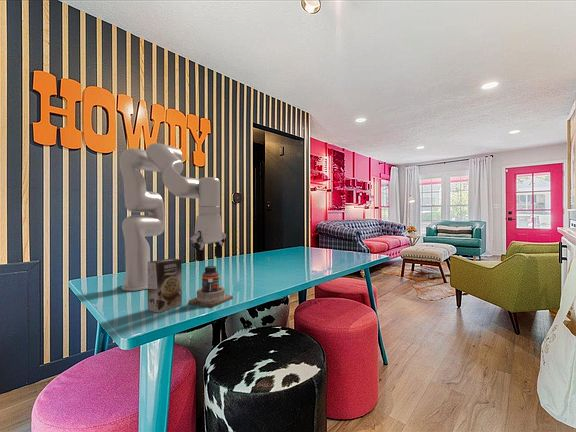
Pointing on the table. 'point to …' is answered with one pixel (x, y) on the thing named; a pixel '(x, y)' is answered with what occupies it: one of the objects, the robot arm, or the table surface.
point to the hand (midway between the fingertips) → (209, 258)
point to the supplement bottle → (210, 280)
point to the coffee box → (164, 284)
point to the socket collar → (210, 298)
